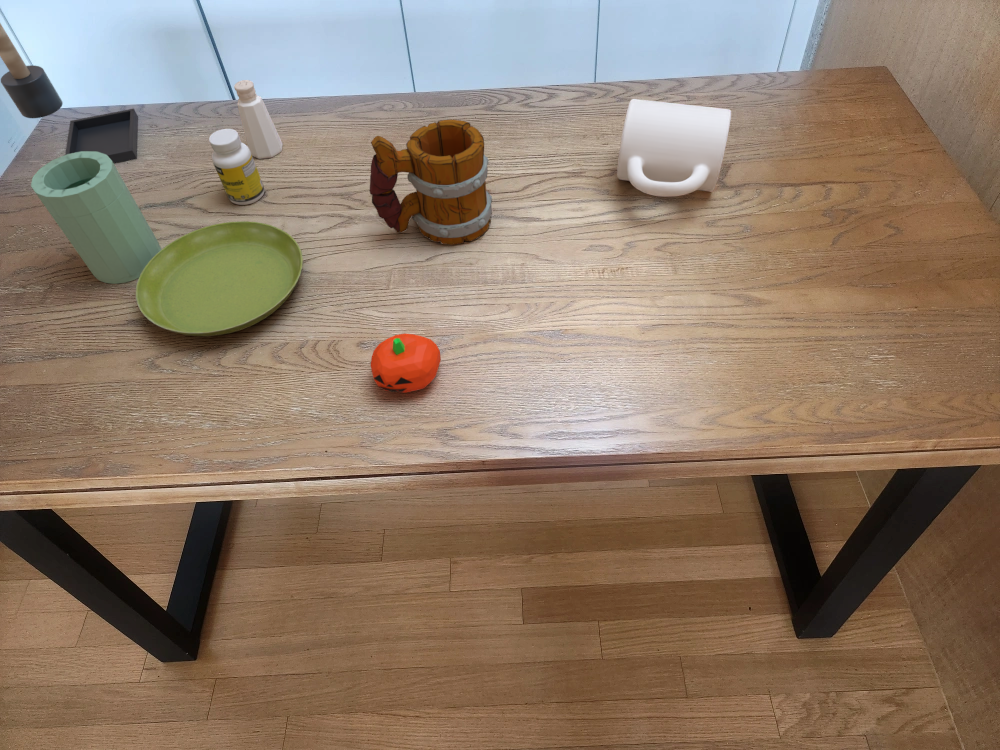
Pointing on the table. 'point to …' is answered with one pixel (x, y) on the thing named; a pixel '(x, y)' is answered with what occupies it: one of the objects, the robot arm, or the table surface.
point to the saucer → (219, 278)
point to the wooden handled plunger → (27, 83)
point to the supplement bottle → (236, 167)
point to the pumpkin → (405, 363)
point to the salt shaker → (257, 122)
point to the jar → (97, 215)
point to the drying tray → (106, 135)
